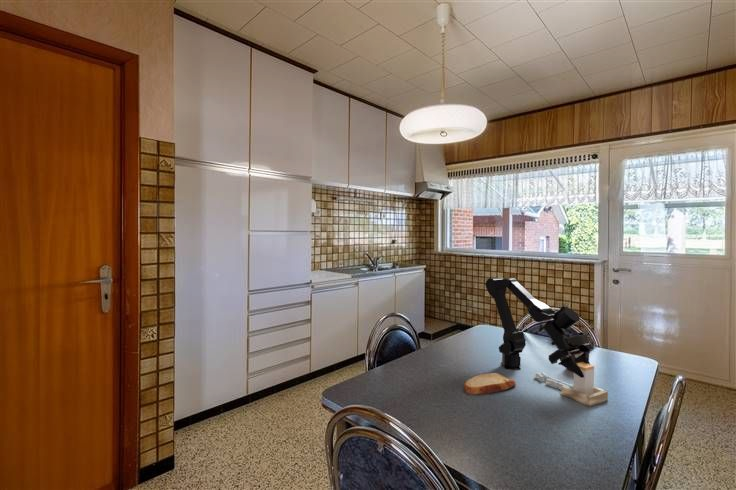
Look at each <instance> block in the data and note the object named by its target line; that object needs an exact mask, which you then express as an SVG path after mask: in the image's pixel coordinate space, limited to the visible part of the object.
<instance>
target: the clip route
mask: <svg viewBox="0 0 736 490" xmlns="http://www.w3.org/2000/svg"><path fill="white" fill-rule="evenodd" d="M534 379H536V380H538V382H541V383H542V382H543V383H545V385H547V386H550V387H551V388H554V389H557V390H560V391H561V389H562V386H566V387H568V388H571V389H573V385H574V384H571V383H568V382H565V381H562V380H560V379H557V378H554V377H552V376H550V375H548V374H546V373H545V372H543V371H542V372H541V373H539V372H535V375H534Z"/></svg>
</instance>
